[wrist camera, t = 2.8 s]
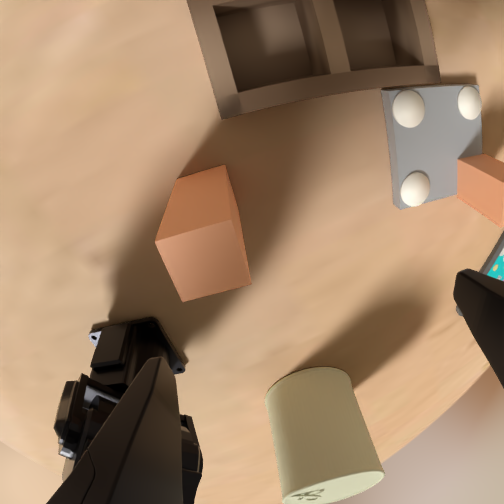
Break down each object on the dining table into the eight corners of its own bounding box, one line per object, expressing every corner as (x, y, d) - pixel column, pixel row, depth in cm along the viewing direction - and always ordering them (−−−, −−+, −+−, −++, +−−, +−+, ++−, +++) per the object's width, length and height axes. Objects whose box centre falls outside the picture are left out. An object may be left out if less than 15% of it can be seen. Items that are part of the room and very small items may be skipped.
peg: (238, 209, 20) (251, 284, 13) (192, 222, 20) (182, 302, 13) (224, 164, 19) (231, 219, 12) (176, 178, 19) (154, 241, 12)
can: (280, 364, 28) (307, 485, 17) (365, 366, 30) (407, 466, 19) (254, 416, 32) (269, 515, 22) (329, 415, 34) (355, 503, 24)
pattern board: (475, 185, 21) (525, 217, 16) (393, 207, 21) (440, 249, 16) (472, 83, 17) (531, 96, 11) (380, 90, 17) (438, 99, 12)
